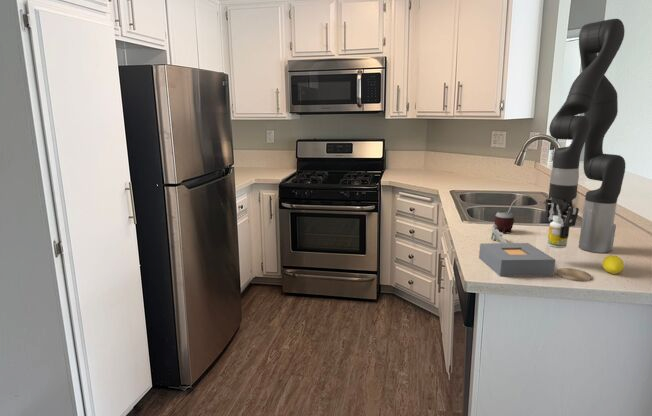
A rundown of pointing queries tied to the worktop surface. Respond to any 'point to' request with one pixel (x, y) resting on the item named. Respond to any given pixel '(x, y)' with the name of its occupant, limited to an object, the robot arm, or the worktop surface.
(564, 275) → the cork coaster
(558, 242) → the supplement bottle
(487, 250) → the box
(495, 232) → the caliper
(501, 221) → the mate gourd
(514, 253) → the breaker button
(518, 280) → the worktop surface
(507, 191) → the worktop surface
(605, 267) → the lemon
